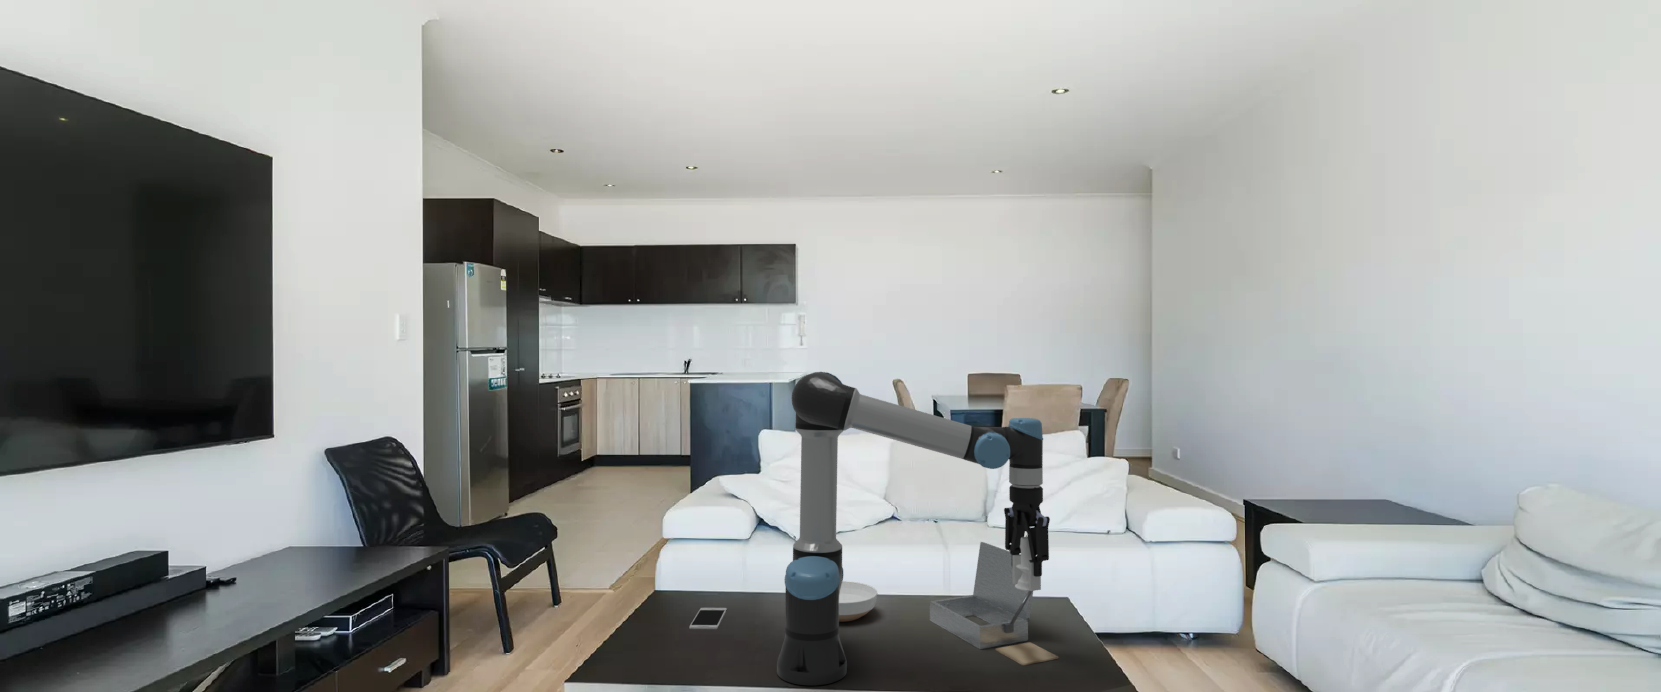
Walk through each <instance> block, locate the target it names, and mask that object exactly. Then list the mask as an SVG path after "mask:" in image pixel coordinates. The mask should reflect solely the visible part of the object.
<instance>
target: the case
mask: <svg viewBox="0 0 1661 692" xmlns="http://www.w3.org/2000/svg"><path fill="white" fill-rule="evenodd" d="M1015 585H1016V584H1013V579H1012V555H1011V554H1010V551H1009V550H1006V549H1004V548H1001V547H998V546H996V545H993V544H991V543H990V544H989V543H988V542H984V541H980V542H979V551H978V558H977V566H976V571H975V578H974V586H973V592H972V593H973V594H970V595H963V596H957V597H951V598H944V599H936V600H930V601H929V621H930V622H932V623H933V624H935V625H936V626H938V627H940V628H942V629H944V630H945V631H947V632H949V633H951V634H953V635H954V636H956V637H957V638H960V640H962V641H965V642H966V643H967V644H970V645H972V647H973V646H974V647H975V648H977V649H978V650H983V649H988V648H989V649H990V648H994V647H1000V646H1005V645H1011V644H1012V645H1013V644H1017V643H1023V642H1026V641H1028V640H1029V632H1028V631H1029V621H1030V618H1031V610H1032V603H1033V595H1034V591H1026V590H1020V589H1017V588H1016V587H1015ZM971 616H975V617H977V618H978V619H981V620H983V621H985V622H986V623H988V624H984V625H980V624H978V623H976V622H974V621H972V620H970V619H969V618H967V617H971Z"/></svg>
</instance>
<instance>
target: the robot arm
mask: <svg viewBox="0 0 1661 692" xmlns="http://www.w3.org/2000/svg"><path fill="white" fill-rule="evenodd" d="M791 404H792V405H791V406H792V408H793V410H794V413H795V415H794V416H795V419H794V420H795V421H794V423H795V425H794V426H795V428H794V429H795V430H796V432H797V433H798V434H799V435H800V437H801V443H800V445H801V448H800V449H801V450H800V452H801V453H800V496H799V497H800V499H799V501H800V502H799V505H800V506H799V538H798V539H797V540H796V541H795V542H794V543H793V545H792V561H791V562H789V564H788V565H787V567H786V569H785V576H784V585H785V603H784V605H785V607H784V608H785V609H784V611H785V612H784V613H785V616H784V617H785V623H784V624H785V625H784V626H785V627H784V628H785V631H784V633H785V634H784V639H783V642H782V645H781V649H780V652H779V655H778V657H777V661H776V673H777V675H778V676H777V677H779V678H780V679H781V680H783V681H785V682H788V683H790V684H795V685H799V686H800V685H801V686H823V685H828V684H832V683H836V682H838V681H840V680H842V679H844V677H846V675H847V671H848V669H847V668H848V663H847V658H846V654H845V651H844V649H843V645H842V641H841V638H840V629H839V627H840V622H839V594H840V589H841V584H842V581H844V568H843V545H842V543H841V542H840V541H839V540H838V539H837V511H838V510H837V505H838V504H837V500H838V498H837V497H838V449H839V448H838V447H839V445H838V443H839V442H838V441H839V440H838V439H839V436H840V435H841V434H842V433H843V432H844V431H847V430H849V429H855V430H858V431H862V432H866V433H869V434H872V435H876V436H880V437H884V438H887V439H891V440H893V441H896V442H900V443H904V444H909V445H912V446H914V447H918V448H922V449H926V450H929V451H932V452H935V453H936V452H937V453H940V454H944V455H947V456H950V457H954V458H958V459H960V460H964V461H968V462H970V463H974V464H977V465H980V466H981V467H982V468H985V469H990V470H997V469H999V468H1002V467H1004V465H1006V464H1007V463H1008V461H1009V466H1008V469H1009V470H1008V473H1009V474H1008V476H1009V477H1008V480H1009V481H1008V482H1009V484H1010V486H1009V492H1008V493H1009V495H1008V496H1009V497H1008V498H1009V502H1010V503H1012V504H1011V507H1004V509H1003V512H1004V513H1003V514H1004V518H1005V520H1004V521H1005V524H1004V525H1005V526H1004V528H1005V529H1004V531H1005V532H1004V534H1005V536H1004V548H1005V549H1004V550H1007V551H1010V554H1011V555H1012V579H1013V584H1017V583H1018V580H1019V579H1020V578H1021V575H1022V573H1023V571H1021V570H1020V569H1018V568H1017V567H1016V566H1017V565H1019V564H1021V548H1020V542H1021V537H1025V534H1026V535H1027V537H1028V541H1029V547H1030V553H1031V559H1032V560H1029V590H1030V591H1033V592H1035V591H1040V590H1042V584H1041V583H1042V575H1043V562H1044V561H1049V560H1050V545H1049V525H1050V521H1051V519H1050V517H1049V516H1044V515H1043V514H1042V512H1041V509H1040V506H1041V504H1042V503H1043V501H1044V488H1043V487H1042V485H1043V482H1044V481H1043V480H1044V479H1043V478H1044V477H1043V474H1044V473H1043V470H1044V469H1043V463H1044V462H1043V459H1044V458H1043V453H1044V452H1043V448H1044V447H1043V446H1044V443H1043V442H1044V435H1043V425H1042V422H1041V420H1039V419H1038V418H1033V417H1032V418H1030V417H1013V418H1011V419H1010V420H1009V423H1008V425H1007V426H1002V427H1001V426H974V425H969V424H967V423H962V422H959V421H956V420H952V419H948V418H945V417H941V416H937V415H934V414H932V413H927V412H923V411H920V410H917V409H914V408H910V407H906V406H903V405H899V404H896V403H892V402H889V401H886V400H883V399H879V398H875V397H871V396H868V395H865V394H861V393H860V391H859V390H858V389H857V388H856V387H854V386H849V385H846V384H844V383H842V381H841V380H840V378H838V377H837V376H836V375H834V374H832V373H829V372H827V371H826V372H825V371H814V372H811V373H808V374H806V375H804V376H803V377H801V378H800V379H799V380H798V381H797V382H796V383H795V385H794V387H793V389H792V391H791ZM1025 532H1026V533H1025Z"/></svg>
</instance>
